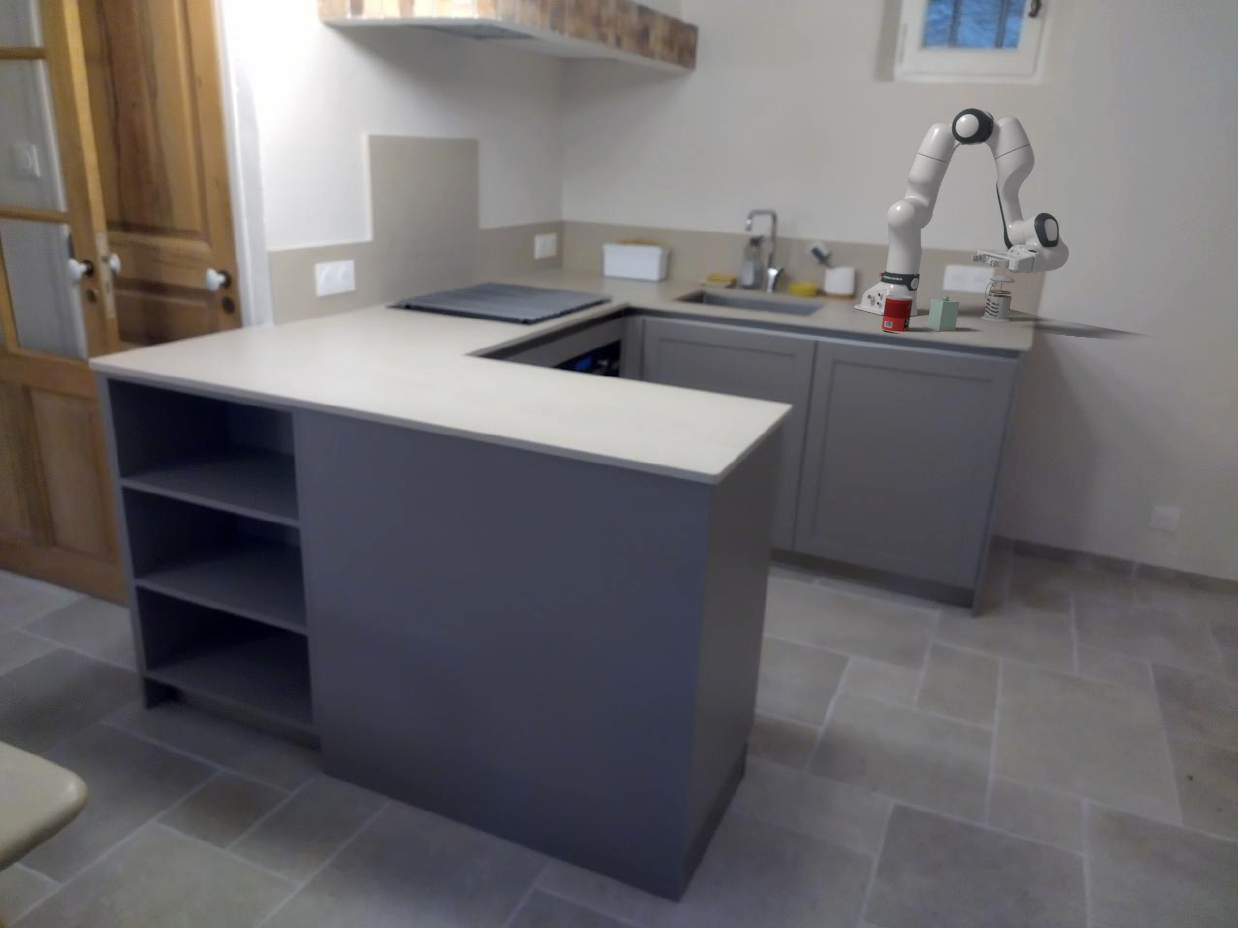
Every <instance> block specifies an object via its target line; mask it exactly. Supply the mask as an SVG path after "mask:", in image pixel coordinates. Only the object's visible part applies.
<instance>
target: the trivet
mask: <svg viewBox="0 0 1238 928" xmlns="http://www.w3.org/2000/svg"><path fill="white" fill-rule="evenodd" d="M922 328H923V329H926V330H930V331H933V332H937V333H951V332H953V333H955V332H958V333H961V332H963V331H962V330H958V329H955V331H938V330H934V329H931V328H928V327H927V325H926V326H922Z"/></svg>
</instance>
